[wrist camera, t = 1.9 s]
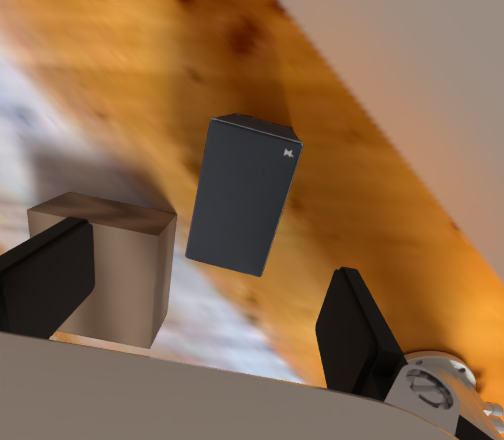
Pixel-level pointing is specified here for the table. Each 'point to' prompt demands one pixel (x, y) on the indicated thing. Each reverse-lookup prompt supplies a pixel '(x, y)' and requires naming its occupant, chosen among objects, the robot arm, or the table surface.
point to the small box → (242, 192)
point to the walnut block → (118, 267)
